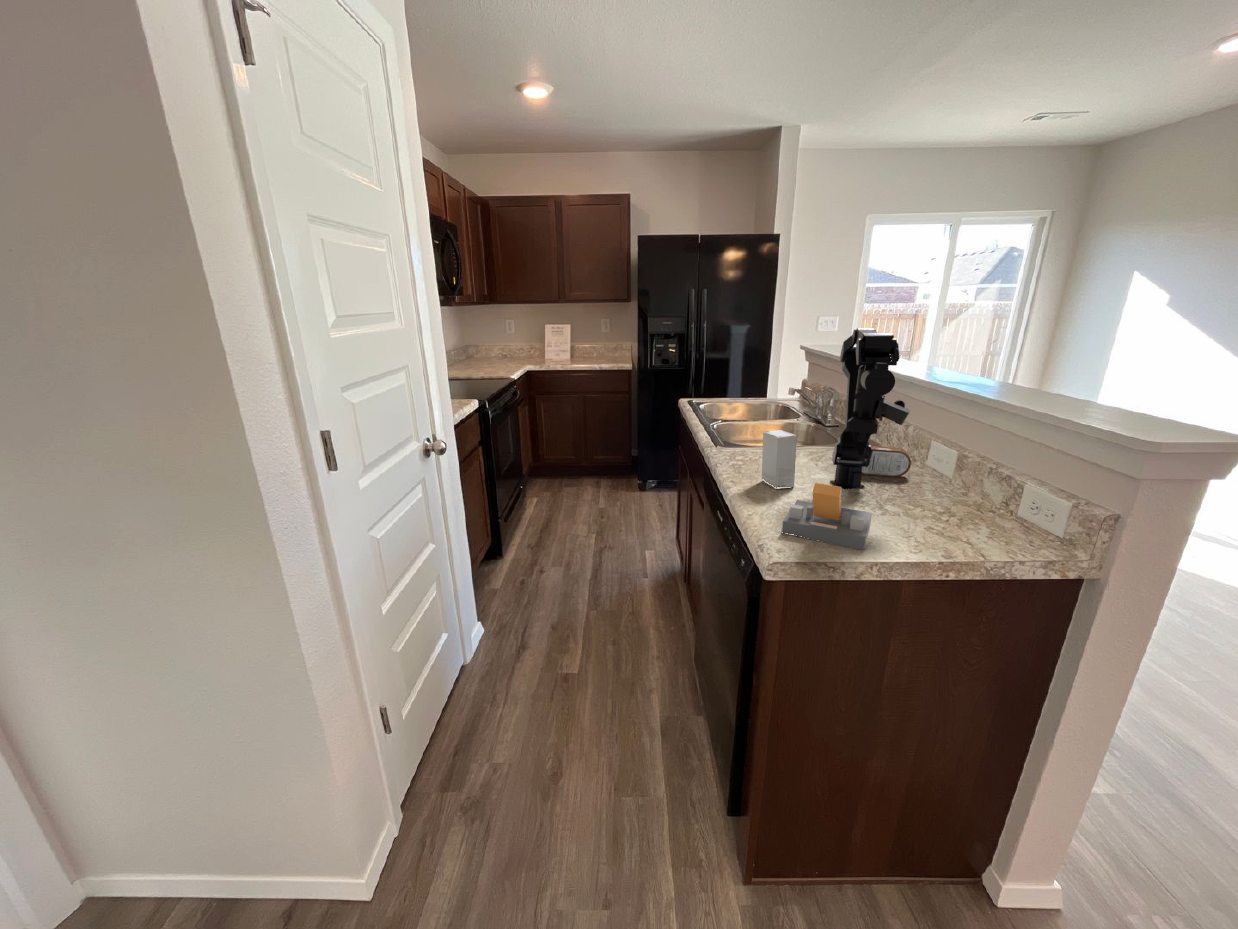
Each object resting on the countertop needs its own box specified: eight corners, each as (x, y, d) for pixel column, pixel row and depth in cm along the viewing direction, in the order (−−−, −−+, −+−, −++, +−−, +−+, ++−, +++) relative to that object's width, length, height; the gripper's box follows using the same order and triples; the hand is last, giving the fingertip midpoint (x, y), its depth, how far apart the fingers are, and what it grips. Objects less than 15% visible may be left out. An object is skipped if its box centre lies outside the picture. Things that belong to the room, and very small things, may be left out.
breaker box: (795, 511, 116) (798, 490, 114) (870, 525, 108) (873, 502, 106) (781, 533, 105) (783, 510, 103) (863, 550, 97) (867, 525, 95)
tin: (907, 475, 140) (912, 448, 138) (909, 479, 137) (914, 450, 135) (850, 471, 145) (854, 444, 143) (851, 474, 142) (855, 447, 140)
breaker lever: (816, 508, 106) (814, 482, 99) (841, 513, 103) (841, 486, 96) (814, 517, 105) (812, 492, 97) (839, 522, 102) (839, 496, 95)
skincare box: (794, 488, 131) (799, 435, 127) (774, 490, 130) (778, 437, 126) (778, 479, 139) (782, 428, 135) (759, 480, 138) (762, 430, 134)
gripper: (909, 397, 99) (897, 469, 104) (911, 386, 114) (901, 449, 119) (850, 394, 105) (841, 462, 109) (859, 383, 120) (851, 444, 125)
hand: (861, 454), depth 115 cm, fingers closed
